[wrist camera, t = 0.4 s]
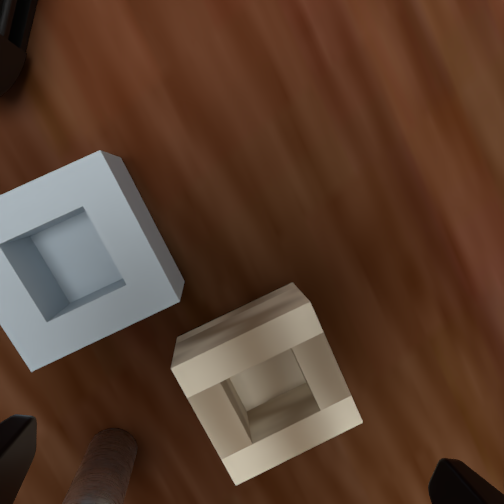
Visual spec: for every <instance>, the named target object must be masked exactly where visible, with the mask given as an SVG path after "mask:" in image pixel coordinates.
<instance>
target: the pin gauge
mask: <svg viewBox="0 0 504 504" xmlns="http://www.w3.org/2000/svg"><path fill="white" fill-rule="evenodd" d="M136 454H137V443H136V441H135V439H134V437H133V436H132V435H131V434H130V433H128V432H127V431H125V430H122V429H117V428H111V429H106V430H103V431H101V432H99V433H98V434H96V435H95V436H94V438H93V439H92V440H91V442H90V444H89V447H88V449H87V451H86V453H85V455H84V458H83V460H82V462H81V464H80V466H79V468H78V471H77V473H76V475H75V477H74V479H73V481H72V484H71V486H70V488H69V490H68V492H67V494H66V497H65V499H64V501H63V503H62V504H123V502H124V498H125V495H126V491H127V487H128V483H129V480H130V476H131V472H132V468H133V465H134V461H135V457H136Z"/></svg>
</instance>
